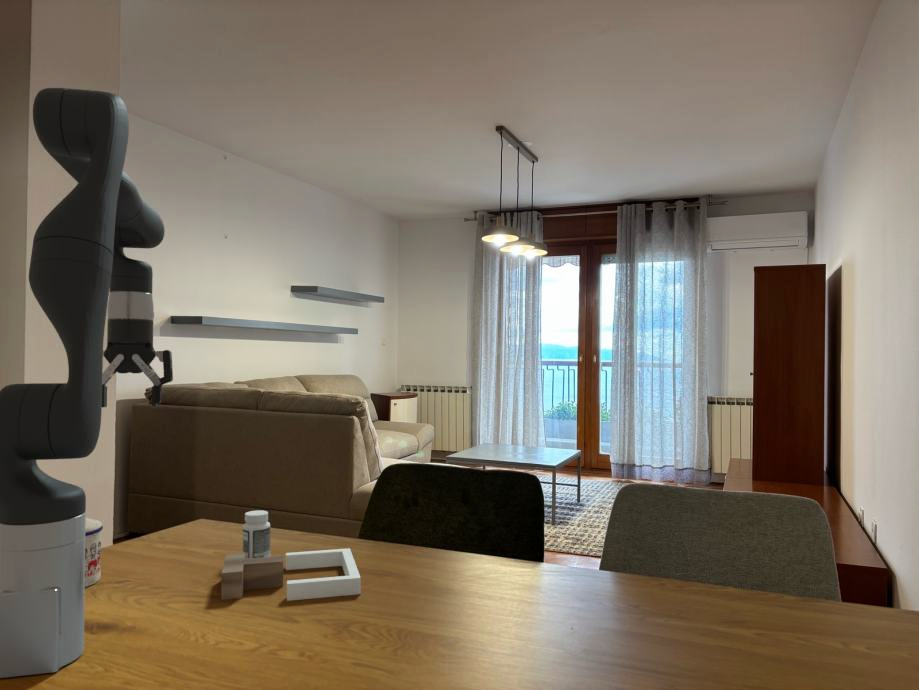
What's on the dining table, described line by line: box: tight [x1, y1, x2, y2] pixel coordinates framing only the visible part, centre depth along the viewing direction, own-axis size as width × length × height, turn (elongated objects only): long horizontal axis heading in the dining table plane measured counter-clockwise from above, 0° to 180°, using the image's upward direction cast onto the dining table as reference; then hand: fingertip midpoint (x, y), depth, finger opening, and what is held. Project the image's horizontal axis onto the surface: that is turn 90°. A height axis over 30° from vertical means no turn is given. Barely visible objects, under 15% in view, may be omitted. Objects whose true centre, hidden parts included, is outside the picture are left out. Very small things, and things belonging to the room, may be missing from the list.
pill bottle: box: [242, 509, 271, 558], centre depth 119 cm, size 5×5×8 cm
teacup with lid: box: [85, 517, 104, 588], centre depth 108 cm, size 12×9×12 cm
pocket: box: [285, 547, 362, 602], centre depth 109 cm, size 16×11×2 cm
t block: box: [220, 551, 284, 601], centre depth 106 cm, size 10×9×4 cm
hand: (129, 406), depth 121 cm, fingers open, 8 cm apart
